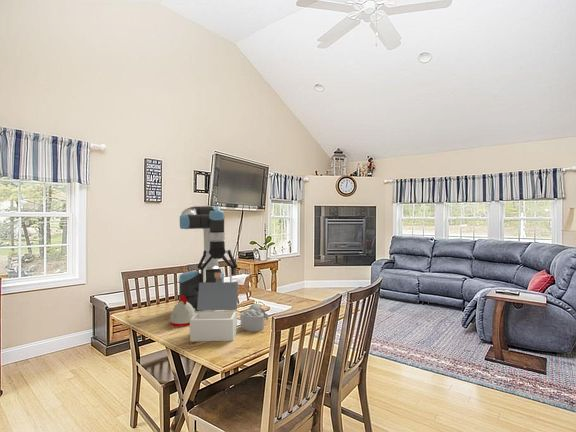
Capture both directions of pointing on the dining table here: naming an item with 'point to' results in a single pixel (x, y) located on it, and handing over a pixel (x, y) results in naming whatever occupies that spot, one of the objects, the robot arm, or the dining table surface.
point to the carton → (213, 326)
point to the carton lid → (217, 295)
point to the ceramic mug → (258, 308)
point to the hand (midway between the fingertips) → (217, 281)
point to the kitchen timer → (182, 313)
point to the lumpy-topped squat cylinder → (252, 320)
